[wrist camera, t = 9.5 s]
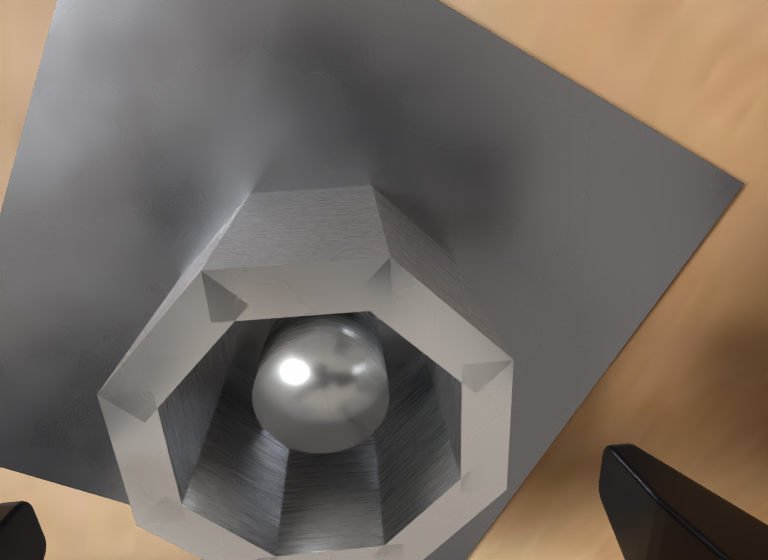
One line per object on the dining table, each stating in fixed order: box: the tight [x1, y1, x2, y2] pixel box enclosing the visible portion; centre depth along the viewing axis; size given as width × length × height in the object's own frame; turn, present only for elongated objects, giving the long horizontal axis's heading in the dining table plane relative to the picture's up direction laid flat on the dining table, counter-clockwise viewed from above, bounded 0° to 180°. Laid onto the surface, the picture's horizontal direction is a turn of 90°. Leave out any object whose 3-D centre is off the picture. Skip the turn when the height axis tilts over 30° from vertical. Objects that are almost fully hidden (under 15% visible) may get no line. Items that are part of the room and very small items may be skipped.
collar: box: [97, 186, 514, 560], centre depth 12 cm, size 7×8×5 cm
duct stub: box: [0, 0, 744, 560], centre depth 13 cm, size 16×16×4 cm
